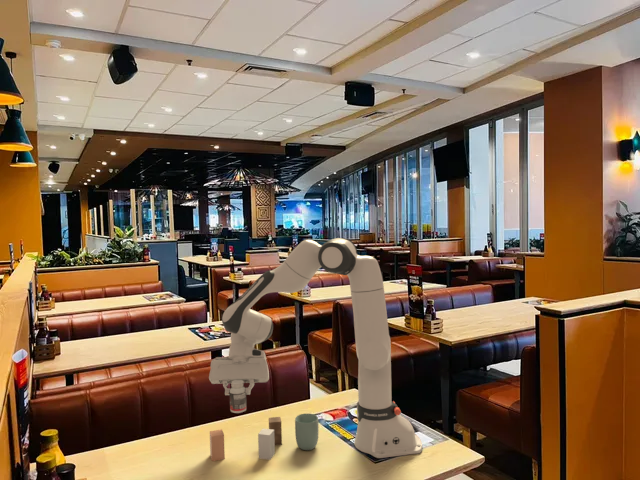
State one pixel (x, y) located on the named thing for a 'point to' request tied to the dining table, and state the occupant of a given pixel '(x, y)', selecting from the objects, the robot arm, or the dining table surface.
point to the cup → (306, 431)
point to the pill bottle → (237, 397)
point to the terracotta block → (217, 445)
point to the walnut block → (276, 429)
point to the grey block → (266, 444)
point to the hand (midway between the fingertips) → (237, 394)
